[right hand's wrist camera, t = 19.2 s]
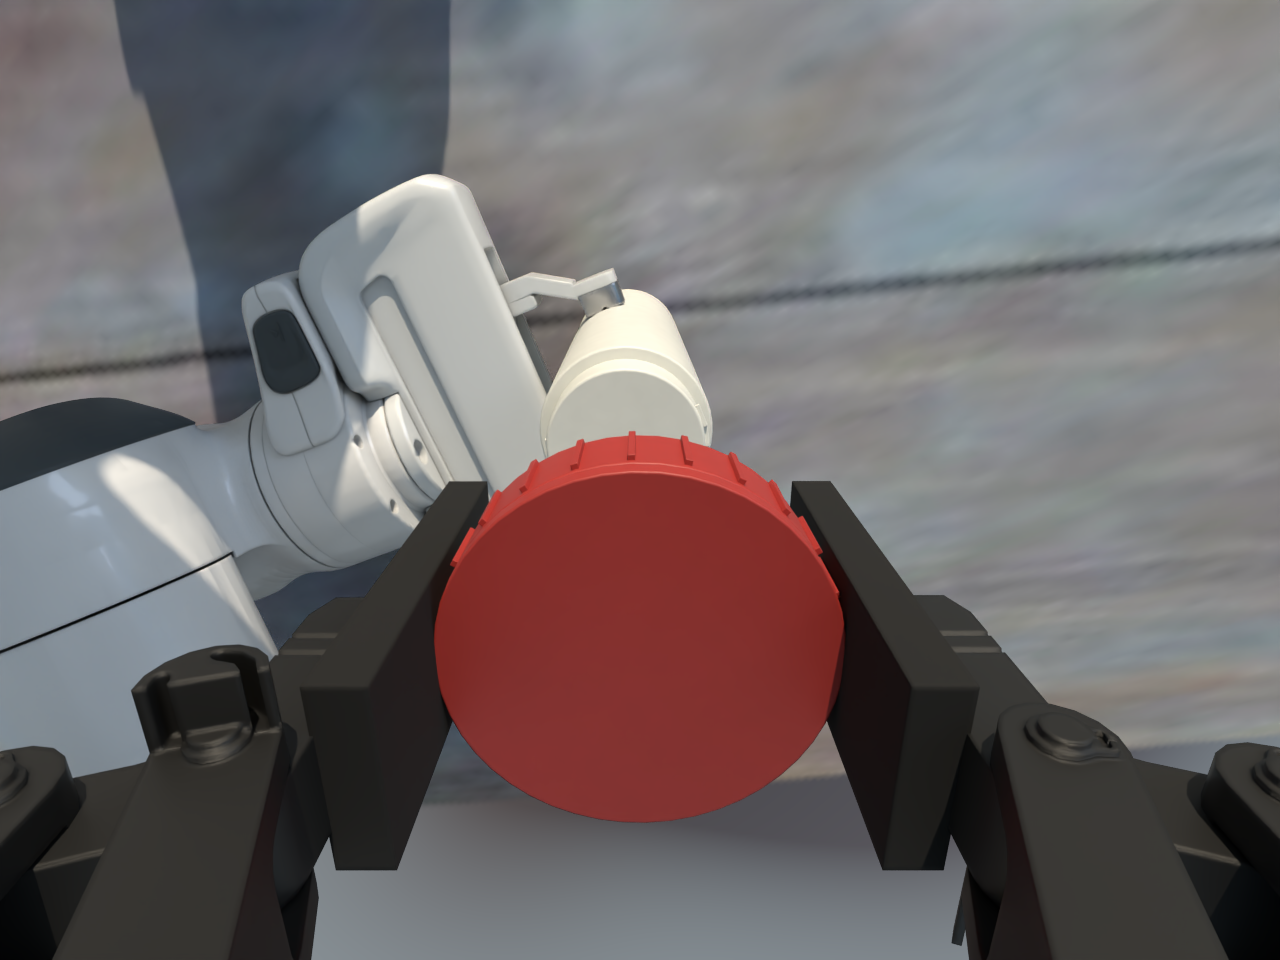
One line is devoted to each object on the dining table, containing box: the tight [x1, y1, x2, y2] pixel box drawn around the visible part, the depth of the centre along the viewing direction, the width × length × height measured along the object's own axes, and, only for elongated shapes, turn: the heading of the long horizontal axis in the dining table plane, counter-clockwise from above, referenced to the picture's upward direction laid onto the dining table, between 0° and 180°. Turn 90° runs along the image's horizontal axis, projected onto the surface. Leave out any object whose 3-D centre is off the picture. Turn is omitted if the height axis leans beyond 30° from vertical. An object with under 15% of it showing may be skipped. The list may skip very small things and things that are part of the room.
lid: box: [434, 431, 846, 823], centre depth 11 cm, size 6×6×2 cm
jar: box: [540, 289, 713, 458], centre depth 29 cm, size 5×5×19 cm
